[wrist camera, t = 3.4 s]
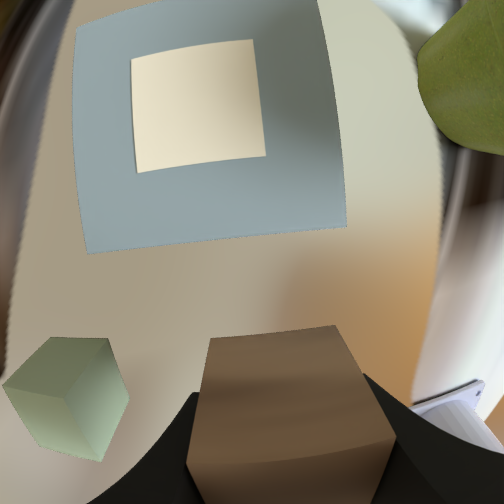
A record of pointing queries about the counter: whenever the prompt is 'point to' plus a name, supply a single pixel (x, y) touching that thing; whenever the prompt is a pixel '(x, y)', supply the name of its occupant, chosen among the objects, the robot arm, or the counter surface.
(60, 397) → the sage block
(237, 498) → the walnut block
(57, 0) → the counter surface
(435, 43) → the plant pot
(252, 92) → the board
